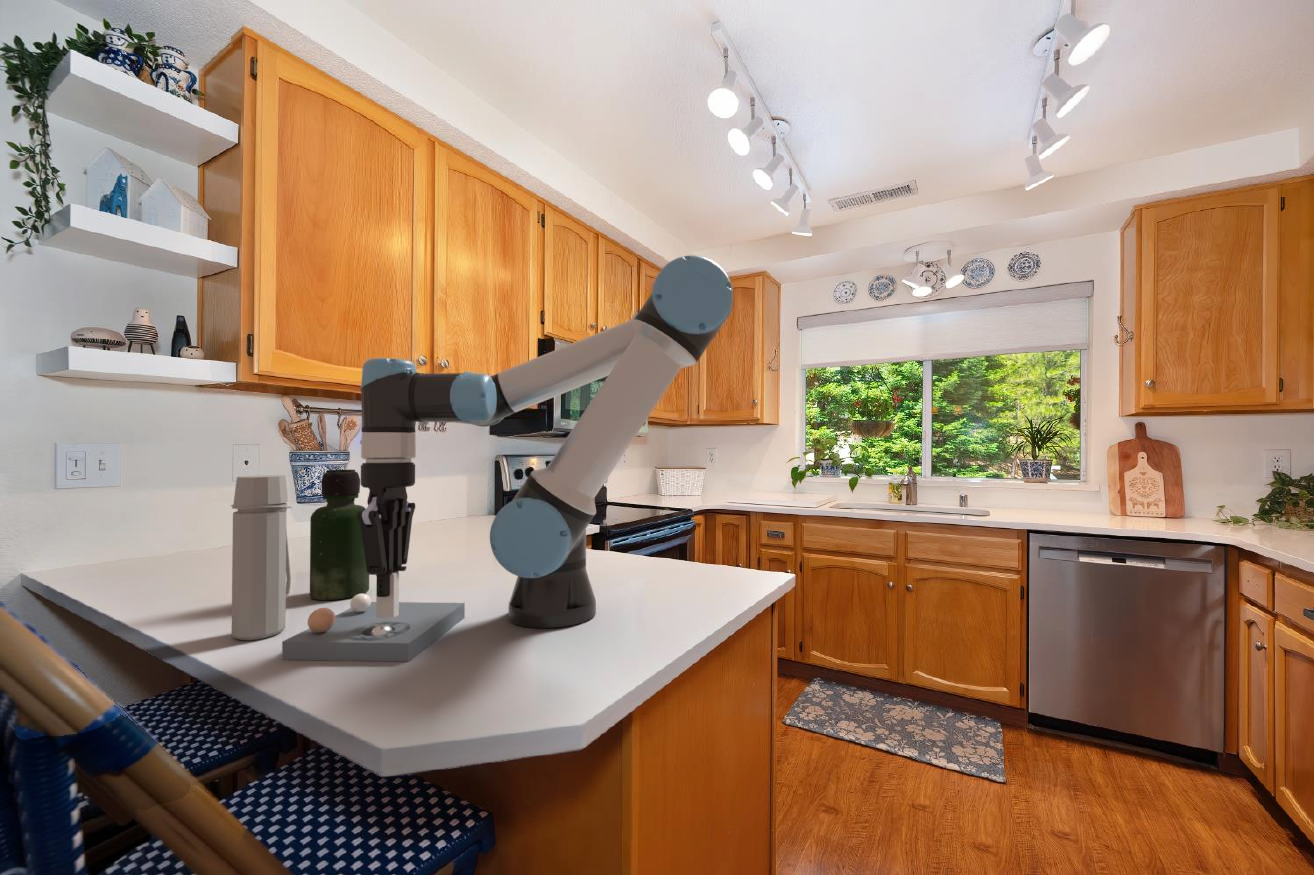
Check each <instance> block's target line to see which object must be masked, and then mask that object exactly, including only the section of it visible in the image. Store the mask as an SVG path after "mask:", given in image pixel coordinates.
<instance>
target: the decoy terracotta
mask: <svg viewBox="0 0 1314 875" xmlns="http://www.w3.org/2000/svg"><path fill="white" fill-rule="evenodd" d="M335 614H336V613H335V612H334V611H333V610H331V609H330V608H327V607H321V608H320V607H319V608H317V609H315V610H314V611H312V612H311V613H310V615H309V616H308V618H307V627H308V629H309V628H310V630H312V631H313V632H316V633H323V632H326V631H328V630H329V629H331V628H332V626H333V625H334V623H335V616H336V615H335Z"/></svg>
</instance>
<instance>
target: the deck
mask: <svg viewBox="0 0 1314 875" xmlns="http://www.w3.org/2000/svg"><path fill="white" fill-rule="evenodd" d="M465 604H466V602H419V601H418V602H414V601H413V602H411V601H410V602H408V601H407V602H406V601H402V602H401V601H399V615H398V616H396V617H394V618H376V601H371V605H370V607H369V608H368V609H367V610H366V611H364V612H361V613H358V612H355V611H353V610H352V608H351V607H350V608H349V609H347V610H344V611H342V612H340V613H337V614H336V615H335V623H334V625H333V626H332V628H331V629H329V630H328V631H326V632H323V633H316V632H313V631H312V630H310V628H309V627H308V628H307V629H305V630H303V631H301V632H299V633H296V634H294V635H292V636H291V637H289V638H287V639H285V640H283V641H282V642H281V643H282V644H281V648H282V650H281V654H282V655H281V660H284V661H285V660H288V661H291V660H293V661H294V660H295V661H349V662H350V661H353V662H355V661H356V662H360V661H361V662H404V663H405V662H410V661H411V660H412V659H414V658H415V657H416V656H417V655H419V654H420V653H421V652H423V651H424V650H425V649H427V648H428V647H429V646H430V645H432V644H433V643H434V642H435V641H437V640H438V639H439V638H441V636H443V635H444V634H445V633H447V632H448V631H449V630H451V629H452V628H453V627H454V626H455V625H457V624H458V623H460V622H461V621H462V620H463V619H465V615H466V614H465V610H466V609H465ZM381 624H386V625H389V626H390V627H391V628H392V629H393V632H391V633H388V634H384V635H378V636H370V633H371V631H372V630H373V629H374V628H375V627H376V626H378V625H381Z"/></svg>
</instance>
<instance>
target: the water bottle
mask: <svg viewBox="0 0 1314 875" xmlns="http://www.w3.org/2000/svg"><path fill="white" fill-rule="evenodd" d="M286 476H287V475H281V474H280V475H279V474H276V475H275V474H274V475H272V474H271V475H269V474H267V475H264V474H263V475H244V476H243V475H241V476H237V477H236V480H235V481H236V482H235V489H234V497H233V504H231V505H230V506H231V507H232V509H233V510H235V511H234V512H232V557H231V558H232V559H231V560H232V562H231V564H232V565H231V566H232V568H231V570H232V571H231V572H232V573H231V576H232V578H231V585H232V586H231V636H232V637H233V638H234V639H236V640H240V641H256V640H262V639H268V638H271V637H274V636H276V635H278V634H279V633H282V632H283V631H284V630H285V629H286V615H287V614H286V612H287V611H286V605H287V604H286V601H287V600H286V597H287V596H288V595H290V590H291V583H292V582H291V581H292V577H291V567H290V566H291V565H290V555H289V544H288V533H287V532H288V531H287V511H288V509H292V506H291V505H288V503H289V497H288V488H287V486H288V484H287V477H286Z"/></svg>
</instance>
